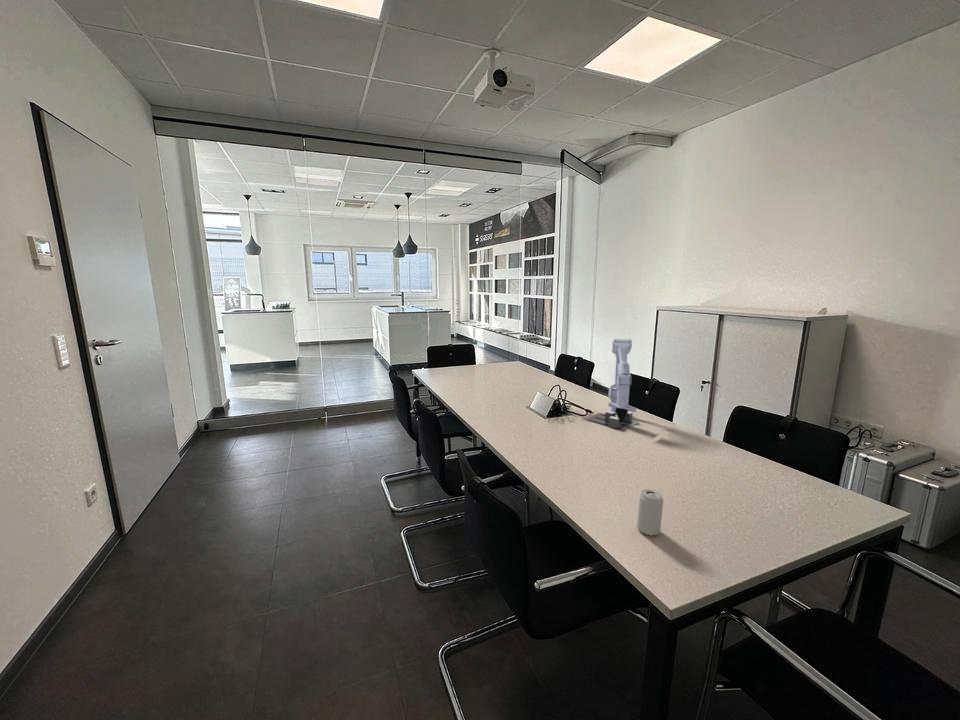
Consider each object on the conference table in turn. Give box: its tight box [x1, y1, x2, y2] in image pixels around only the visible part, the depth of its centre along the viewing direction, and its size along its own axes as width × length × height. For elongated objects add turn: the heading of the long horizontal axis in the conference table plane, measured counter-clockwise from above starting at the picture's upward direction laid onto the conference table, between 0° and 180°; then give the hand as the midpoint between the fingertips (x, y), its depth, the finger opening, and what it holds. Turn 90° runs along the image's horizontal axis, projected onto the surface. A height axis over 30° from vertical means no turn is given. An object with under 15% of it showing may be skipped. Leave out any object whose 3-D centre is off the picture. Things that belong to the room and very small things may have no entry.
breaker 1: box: [608, 416, 620, 429], centre depth 202 cm, size 4×4×5 cm
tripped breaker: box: [604, 410, 617, 421], centre depth 211 cm, size 4×4×5 cm
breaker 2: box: [624, 411, 634, 422], centre depth 211 cm, size 4×4×5 cm
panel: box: [581, 412, 640, 432], centre depth 212 cm, size 18×24×2 cm
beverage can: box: [636, 488, 664, 537], centre depth 117 cm, size 6×6×12 cm
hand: (620, 422), depth 206 cm, fingers closed
